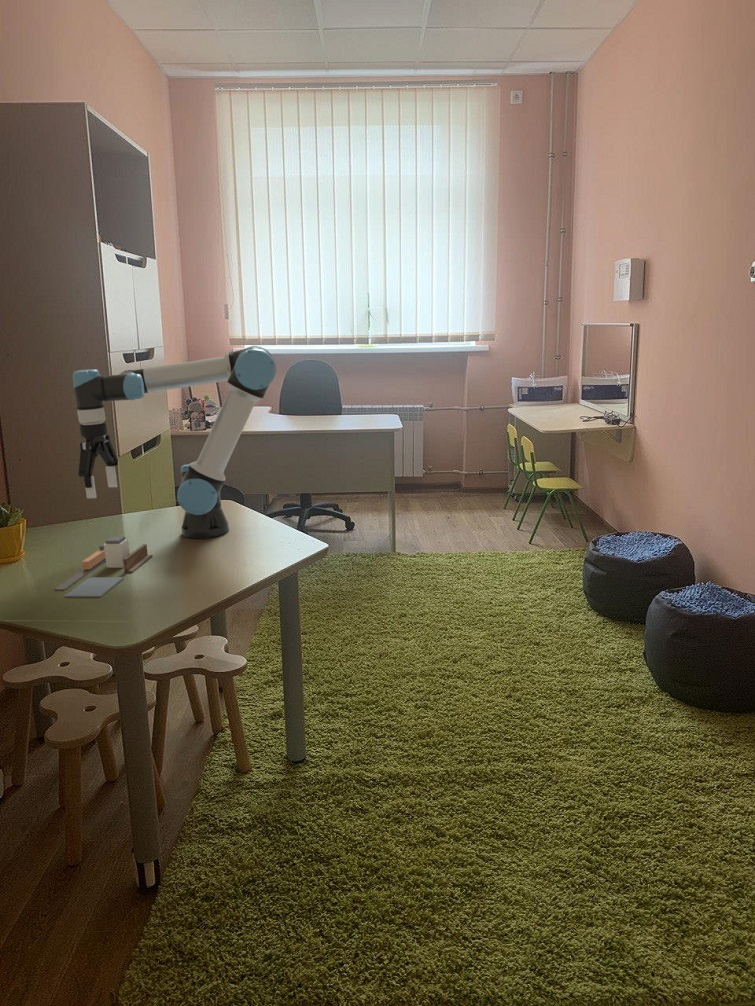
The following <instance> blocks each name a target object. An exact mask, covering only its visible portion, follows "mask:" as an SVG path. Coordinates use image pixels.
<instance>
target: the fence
mask: <svg viewBox="0 0 755 1006" xmlns="http://www.w3.org/2000/svg"><path fill="white" fill-rule="evenodd" d="M152 558H153V554H149V553H148V545H147V544H146V543H143V544H141V545H140V546H139V547H137V548H136V549H135V550H133V551H132V552H131V553H130V554H129V555H128V556H127V557H125V558H124V559H123V562H124V567H123V568H124V573H127V574H128V573H129V574H131V573H132V574H133V573H134V572H136V571H137V570H138V569H140V568H141V567H142V566H143V565H145V564H146V563H147V562H148V561H149V560H151V559H152Z"/></svg>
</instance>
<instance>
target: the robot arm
mask: <svg viewBox="0 0 755 1006" xmlns="http://www.w3.org/2000/svg"><path fill="white" fill-rule="evenodd" d="M276 372H277V367H276V362H275V359H274V357H273V356H272V354H271V353H270V352H269V351H268V349H266V348H263V347H261V346H257V345H254V346H248V347H246V348H243V349H240V350H236V351H230V352H226V354H225V355H224V356H218V357H212V358H211V357H210V358H204V359H198V360H191V361H185V362H180V363H172V364H167V365H166V364H164V365H158V366H152V367H146V368H138V369H128V370H123V372H122V371H121V373H119V374H112V375H101V374H100V372H99V370H98V369H96V368H95V369H81V370H79V369H78V370H76V371H73V373H72V383H73V385H72V386H73V393H74V398H75V404H76V410H77V411H76V414H77V416H78V417H77V418H78V422H79V431H80V432H79V433H80V436H81V438H84V439H85V442H80V444H79V447H80V448H79V449H80V453H79V462H78V463H79V464H78V476H79V477H80V478H83V479H84V480H83V481H84V486H85V487H84V489H85V493H86V499H97V489H96V485H95V484H96V483H95V476H94V475H92V474H93V472H94V471H93V470H94V466H95V463H96V458H98V456H100V457H101V459H102V460H103V462H104V464H105V465H106V466H105V473H106V481H107V488H118V479H117V473H116V472H117V471H116V466H118V465H119V459H118V457H117V454H116V451H115V449H114V447H113V444H112V442H111V437H110V435H109V434H108V429H107V427H108V426H107V423H106V422H105V421H106V420H107V419H106V414H105V413H106V412H105V408H104V407H105V406H104V405H105V404H104V402H105V403H106V402H115V401H120V402H121V401H134V400H135V401H136V400H141V399H143V398H144V397H145V394H149V393H155V392H161V391H168V390H175V389H181V388H190V387H194V386H202V385H208V384H214V383H215V384H216V383H221V382H226V383H227V387H228V392H227V394H226V397H225V398H224V401H223V403H222V405H221V407H220V410H219V412H218V414H217V416H216V418H215V420H214V423H213V425H212V427H211V429H210V431H209V434H208V436H207V438H206V441H205V442H204V445H203V447H202V449H201V452H200V454H199V456H198V458H197V460H195V461H192V462H190V463H188V464H183V465H181V467H180V476H181V482H180V486H178V489H177V492H176V496H177V497H176V498H177V502H178V504H179V506H180V507H181V508H182V509H183V510H184V516H183V520H182V523H181V535H182V536H183V537H185V538H189V539H208V538H209V539H210V538H215V537H218V536H219V537H220V536H222V535H224V534H226V533H228V532H229V530H230V527H229V522H228V520H227V517H226V515H225V513H224V511H223V508H222V504H221V503H222V502H221V491H222V487H223V486H224V483H225V481H226V476H225V470H226V467H227V465H228V463H229V461H230V459H231V456H232V454H233V453H234V450H235V447H236V445H237V444H238V441H239V439H240V438H241V435H242V432H243V430H244V428H245V425H246V424H247V421H248V419H249V417H250V415H251V413H252V410H253V409H254V407H255V404H256V403H257V402H258V401H261V400H264V397H265V395H266V393H267V391H268V388H269V386H270V384H272V382H273V381H274V379H275V376H276Z"/></svg>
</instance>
